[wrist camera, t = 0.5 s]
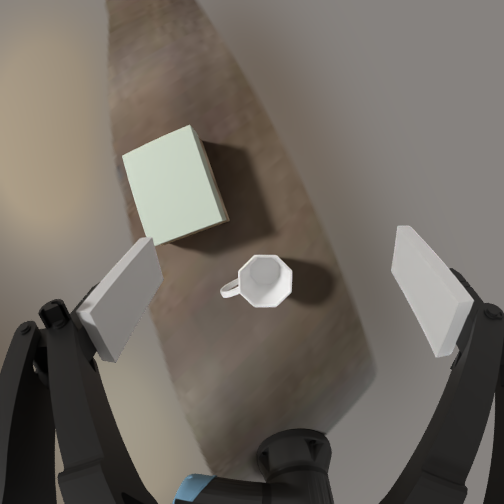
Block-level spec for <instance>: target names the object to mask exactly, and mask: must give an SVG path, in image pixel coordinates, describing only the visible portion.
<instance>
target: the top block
mask: <svg viewBox="0 0 504 504" xmlns="http://www.w3.org/2000/svg"><path fill="white" fill-rule="evenodd" d="M122 157H123V161H124V165H125V168H126V172H127V176H128V179H129V183H130V186H131V190H132V193H133V196H134V200H135V203H136V206H137V209H138V213H139V216H140V219H141V222H142V225H143V228H144V231H145V234H146V237H152V238H153V242H154V246H157V245H160V244H163V243H166V242H168V241H171V240H174V239H176V238H179V237H182V236H184V235H187V234H190V233H192V232H195V231H198V230H200V229H203V228H206V227H209V226H211V225H214V224H217V223H220V222H223V221H225V220H227V219H226V217H225V214H224V211H223V208H222V205H221V202H220V199H219V196H218V193H217V191H216V188H215V185H214V182H213V179H212V176H211V173H210V170H209V167H208V164H207V161H206V158H205V155H204V152H203V149H202V147H201V144H200V141H199V138H198V135H197V132H196V131H195V130H194V129H193V128H192V127H191V126H190V125H188V126H186V127H183V128H181V129H178V130H176V131H174V132H171V133H169V134H167V135H165V136H162V137H160V138H158V139H156V140H154V141H152V142H149V143H147V144H145V145H143V146H141V147H139V148H137V149H135V150H133V151H131V152H129V153H127V154H125V155H123V156H122Z"/></svg>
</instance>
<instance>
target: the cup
mask: <svg viewBox="0 0 504 504" xmlns="http://www.w3.org/2000/svg"><path fill="white" fill-rule="evenodd" d="M238 284H239V287H236V288H234V289H232V290H229V289H231V288H232V287H234V286H236V285H238ZM228 290H229V291H228ZM220 292H221V294H222V296H223V298H228V297H231V296H234V295H237V294H239V293H240V294H241V295H242V296H243V297H244V298H245V299H246V300H247V301H248V302H249V303H250V304H251V305H253V306H254V307H277V306H278V305H279V304H280V303H281V302H282V301H283V300H284V299H285V298H286V297H287V296H288V295H289V294H290V293H292V270H291V269H290V268H289V267H288V266H287V265H286V264H285V263H284V262H283V261H282V260H281V259H280V258H279V257H278V256H277V255H254V256H253V257H252V258H251V259H250V260H249V261H248V262H247V263H246V264H245V265H244V266H243V267H242V268H241V269H240V270H239V271H238V278H237V279H235V280H234V281H232V282H230V283H228V284H227V285H225V286H223V287H222V288H221V289H220Z"/></svg>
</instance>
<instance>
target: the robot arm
mask: <svg viewBox="0 0 504 504" xmlns="http://www.w3.org/2000/svg"><path fill="white" fill-rule="evenodd" d="M391 272H392V274H393V275H394V277H395V279H396V281H397V282H398V284H399V286H400V288H401V289H402V291H403V293H404V295H405V297H406V299H407V300H408V302H409V304H410V306H411V308H412V310H413V312H414V314H415V315H416V317H417V319H418V321H419V323H420V325H421V327H422V329H423V331H424V333H425V335H426V337H427V339H428V342H429V344H430V346H431V348H432V350H433V352H434V354H435V357H442V356H446V355H451V353H452V351H453V349H454V347H455V345H457V346H458V348H459V350H460V351H459V353H458V355H457V357H456V358H455V360H454V362H453V364H452V366H451V368H450V369H452V371H451V374H450V377H449V379H448V382H447V384H446V387H445V389H444V392H443V395H442V397H441V399H440V401H439V404H438V406H437V408H436V410H435V413H434V415H433V417H432V419H431V421H430V423H429V425H428V427H427V429H426V431H425V433H424V435H423V437H422V439H421V441H420V442H419V444H418V446H417V448H416V450H415V452H414V453H413V455H412V457H411V458H410V460H409V462H408V463H407V465H406V467H405V468H404V470H403V472H402V473H401V475H400V476H399V478H398V479H397V481H396V482H395V484H394V485H393V487H392V488H391V490H390V491H389V492H388V494H387V495H386V496H385V498H384V499H383V500H382V501H381V502H380V503H379V504H463V503H464V500H465V498H466V495H467V487H466V486H465V481H466V478H467V476H468V473H469V471H470V469H471V466H472V464H473V461H474V459H475V456H476V453H477V451H478V448H479V445H480V442H481V440H482V436H483V433H484V430H485V427H486V424H487V420H488V417H489V413H490V410H491V405H492V402H493V397H494V393H495V427H494V441H493V451H492V459H491V467H490V473H489V478H488V484H487V489H486V494H485V498H484V502H483V504H504V313H503V311H502V310H501V309H500V308H499V307H498V306H496V305H494V304H490V303H483V301H482V300H481V298H480V297H479V296H478V295H477V293H476V292H475V291H474V290H473V288H472V287H470V285H469V283H468V282H466V280H465V279H464V278H463V276H462V275H461V274H460V273H459V272H457V271H456V270H454V269H453V268H450V269H449V268H448V267H447V266H446V265H445V264H444V262H443V261H442V260H441V259H440V258H439V257H438V256H437V254H436V253H435V252H434V251H433V250H432V249H431V248H430V247H429V245H428V244H427V243H426V242H425V241H424V240H423V239H422V238H421V237H420V236H419V235H418V234H417V233H416V232H415V231H414V229H413V228H411V226H398V227H397V234H396V242H395V250H394V256H393V262H392V269H391ZM163 280H164V279H163V276H162V272H161V268H160V265H159V261H158V257H157V253H156V250H155V246H154V242H153V238H152V237H146V238H140V239H139V240H138V241H137V242H136V243H135V244H134V245H133V246H132V248H131V249H130V250H129V251H128V252H127V253H126V254H125V255H124V256H123V257H122V258H121V259H120V260H119V262H118V263H117V264H116V265H115V266H114V267H113V268H112V269H111V271H110V272H109V273H108V274H107V275H106V276H105V277H104V278H103V280H102V281H101V282H99V283H98V284H97V285H95V286H94V287H92V288H91V290H90V291H89V292H88V293H87V295H86V296H85V297H84V298H83V300H81V302H80V303H79V304H78V305H77V306H76V308H75V309H74V310H73V311H72V312H71V314H69V312H68V310H67V308H66V306H65V304H64V302H63V300H61V299H55V300H52V301H50V302H48V303H46V304H45V305H44V306H42V308H41V309H40V310H39V316H40V318H41V319H42V321H43V323H44V325H45V327H46V328H45V329H38V327H37V325H36V323H35V322H34V321H27V322H24V323H23V324H21V325H20V326H19V327H18V328H17V330H16V332H15V333H14V336H13V339H12V341H11V344H10V347H9V349H8V352H7V355H6V358H5V361H4V364H3V366H2V370H1V373H0V504H57V500H56V487H55V428H56V433H57V438H58V443H59V448H60V452H61V456H62V460H63V464H64V471H63V472H61V473H59V474H58V484H59V487H60V491H61V494H62V497H63V500H64V502H65V504H158V503H157V501H156V500H155V499H154V497H153V496H152V495H151V494H150V493H149V492H148V491H147V489H146V488H145V486H144V484H143V483H142V481H141V479H140V477H139V475H138V473H137V471H136V469H135V467H134V464H133V462H132V460H131V458H130V456H129V453H128V451H127V449H126V447H125V444H124V442H123V440H122V437H121V435H120V432H119V430H118V427H117V425H116V422H115V419H114V416H113V414H112V411H111V408H110V405H109V402H108V400H107V396H106V393H105V390H104V387H103V384H102V380H101V377H100V374H99V370H98V366H97V363H96V361H95V359H94V358H93V356H94V355H95V353H96V351H97V352H98V354H99V356H100V357H101V359H102V360H103V361H108V362H114V363H116V362H117V360H118V358H119V356H120V354H121V352H122V350H123V349H124V346H125V345H126V343H127V341H128V340H129V338H130V336H131V334H132V332H133V331H134V329H135V327H136V325H137V324H138V322H139V320H140V318H141V317H142V315H143V313H144V312H145V310H146V308H147V306H148V305H149V303H150V301H151V300H152V298H153V296H154V295H155V293H156V291H157V290H158V288H159V286H160V285H161V283H162V281H163ZM33 365H34V366H35V368H36V371H35V372H34V369H33ZM331 454H332V452H331V447H330V443H329V441H328V439H327V438H326V437H325V436H324V435H323V434H321V433H319V432H316V431H313V430H308V429H292V430H286V431H282V432H279V433H276V434H274V435H272V436H270V437H268V438H267V439H266V440H264V441H263V442H262V443H261V445H260V446H259V448H258V452H257V462H258V466H259V468H260V470H261V472H262V474H263V477H264V479H265V481H266V483H262V482H251V481H242V480H235V479H228V478H221V477H217V476H216V475H213V476H208V475H202V474H191V475H189V476H187V477H186V478H185V479H184V481H183V482H182V483H181V485H180V487H179V489H178V491H177V493H176V496H175V498H174V500H173V503H172V504H334V501H333V496H332V492H331V488H330V483H329V479H328V474H327V473H328V469H329V464H330V460H331Z"/></svg>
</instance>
